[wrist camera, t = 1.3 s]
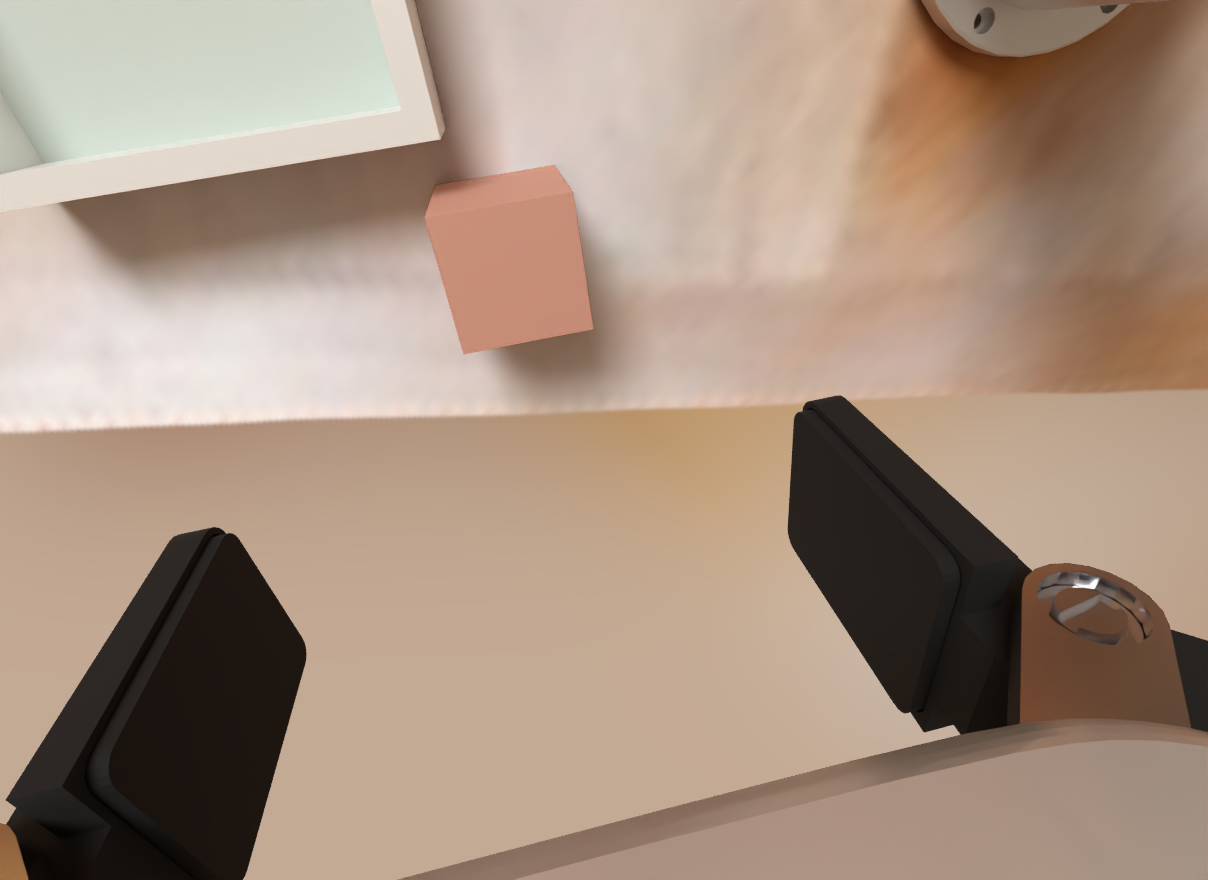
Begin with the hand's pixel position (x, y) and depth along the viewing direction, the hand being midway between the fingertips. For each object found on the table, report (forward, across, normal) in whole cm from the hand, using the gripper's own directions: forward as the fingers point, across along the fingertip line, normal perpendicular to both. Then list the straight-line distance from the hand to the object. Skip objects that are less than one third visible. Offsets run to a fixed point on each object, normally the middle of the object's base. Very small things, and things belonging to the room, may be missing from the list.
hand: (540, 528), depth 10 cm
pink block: (+19, 0, 0) cm, 19 cm away
